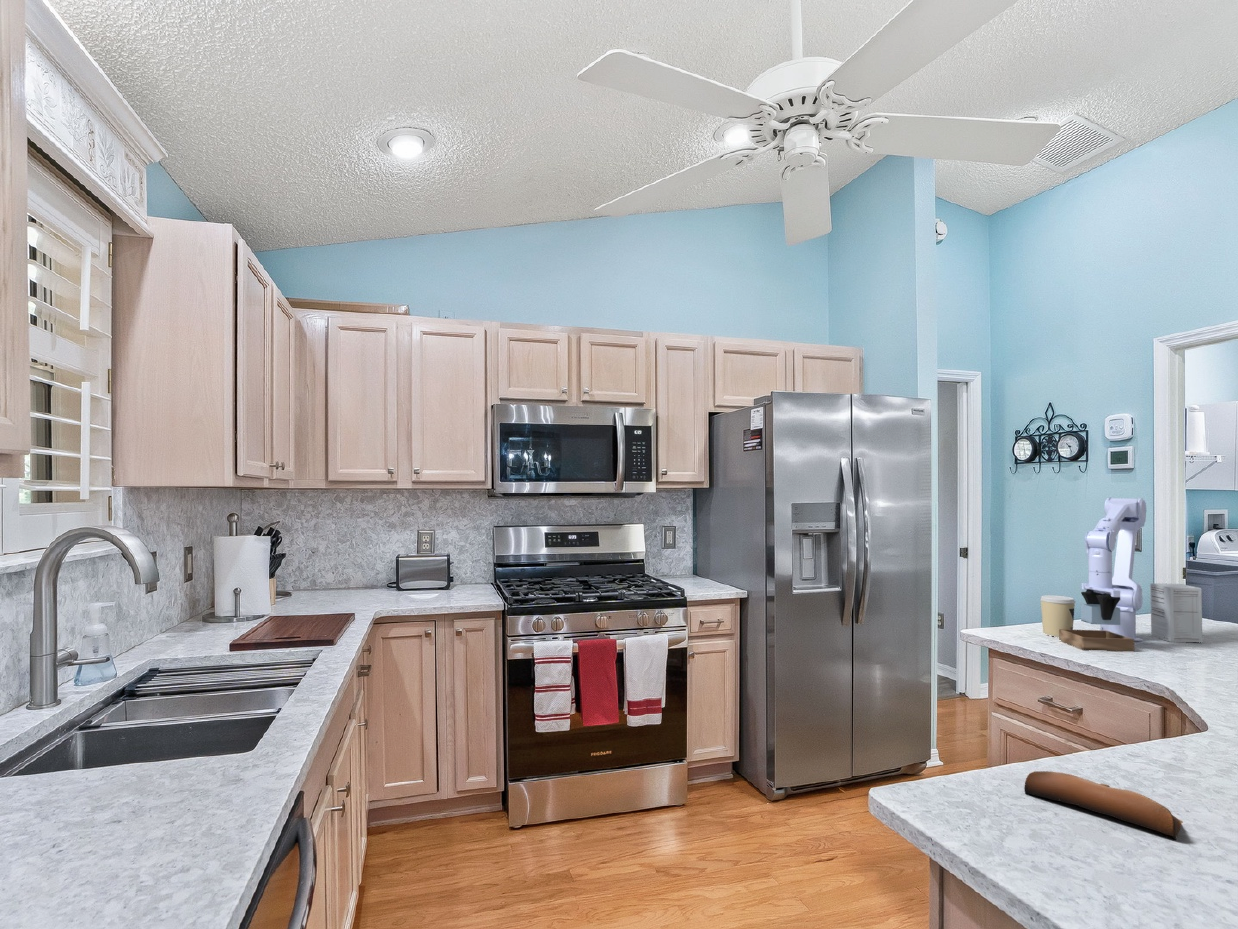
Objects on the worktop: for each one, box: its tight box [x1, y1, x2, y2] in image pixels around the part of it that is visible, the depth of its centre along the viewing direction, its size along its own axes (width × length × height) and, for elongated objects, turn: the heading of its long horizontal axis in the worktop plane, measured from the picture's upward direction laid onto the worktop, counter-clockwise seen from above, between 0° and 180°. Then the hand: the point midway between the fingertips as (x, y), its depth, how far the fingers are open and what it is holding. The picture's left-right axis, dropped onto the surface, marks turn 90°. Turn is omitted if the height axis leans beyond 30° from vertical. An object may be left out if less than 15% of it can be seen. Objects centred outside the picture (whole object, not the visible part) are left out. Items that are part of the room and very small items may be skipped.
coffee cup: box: [1039, 594, 1076, 638], centre depth 216 cm, size 9×9×12 cm
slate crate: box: [1080, 603, 1120, 625], centre depth 201 cm, size 5×8×5 cm, turn 87°
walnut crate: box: [1058, 629, 1135, 652], centre depth 202 cm, size 12×14×4 cm
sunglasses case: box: [1023, 770, 1184, 841], centre depth 99 cm, size 18×7×7 cm, turn 43°
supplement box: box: [1149, 583, 1203, 644], centre depth 213 cm, size 10×9×17 cm
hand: (1100, 618), depth 201 cm, fingers closed on slate crate, 5 cm apart
